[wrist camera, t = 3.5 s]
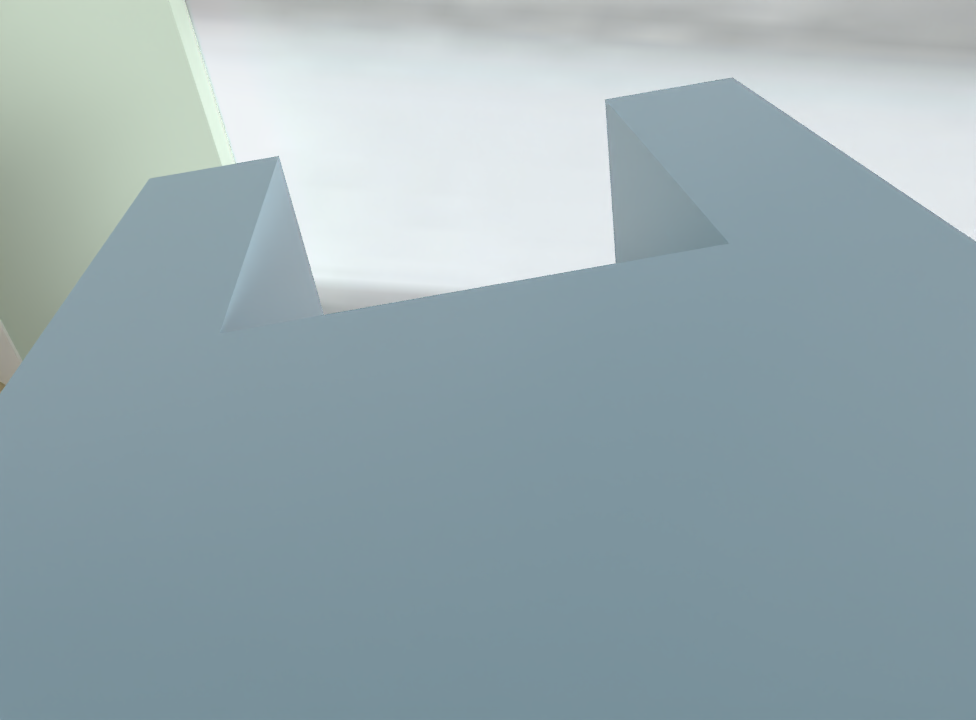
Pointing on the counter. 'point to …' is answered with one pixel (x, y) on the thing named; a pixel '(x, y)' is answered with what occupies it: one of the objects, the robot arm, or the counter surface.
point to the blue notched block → (510, 459)
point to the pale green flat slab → (88, 139)
